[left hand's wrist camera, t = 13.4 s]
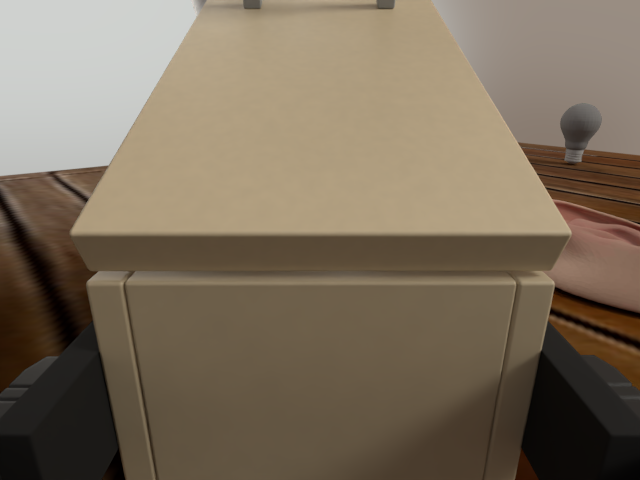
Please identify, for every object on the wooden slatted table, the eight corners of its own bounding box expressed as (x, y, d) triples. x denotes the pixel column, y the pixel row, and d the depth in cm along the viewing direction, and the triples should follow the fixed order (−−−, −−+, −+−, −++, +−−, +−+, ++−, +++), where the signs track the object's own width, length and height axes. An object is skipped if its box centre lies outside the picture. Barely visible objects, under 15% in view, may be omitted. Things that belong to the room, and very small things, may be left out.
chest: (241, 319, 27) (229, 156, 23) (396, 318, 27) (407, 156, 23) (149, 605, 12) (83, 282, 9) (490, 603, 12) (558, 282, 9)
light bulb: (561, 166, 74) (573, 104, 70) (547, 159, 79) (558, 102, 76) (598, 166, 73) (612, 104, 70) (582, 160, 79) (594, 102, 75)
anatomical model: (770, 269, 24) (536, 241, 28) (745, 333, 25) (526, 297, 29) (686, 207, 35) (529, 194, 39) (672, 253, 36) (522, 235, 41)
